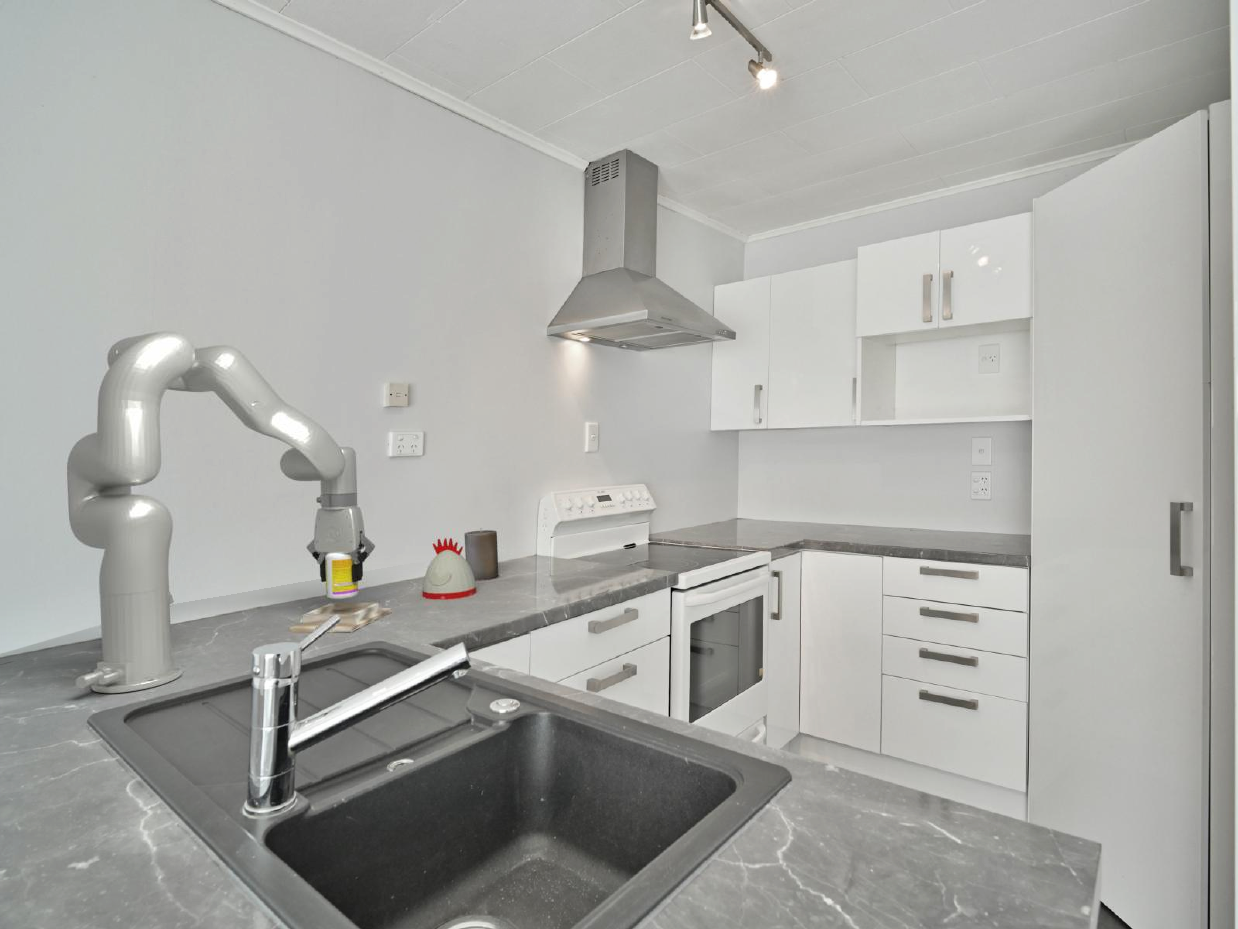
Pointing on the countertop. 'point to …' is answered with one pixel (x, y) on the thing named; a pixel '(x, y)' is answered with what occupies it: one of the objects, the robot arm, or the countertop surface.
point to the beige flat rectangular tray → (349, 613)
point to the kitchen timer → (448, 574)
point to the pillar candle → (482, 554)
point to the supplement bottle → (339, 576)
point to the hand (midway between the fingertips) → (341, 580)
